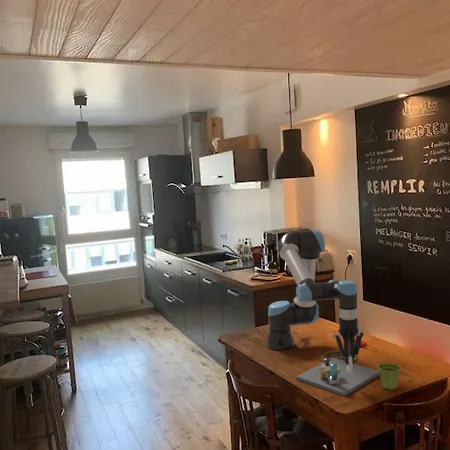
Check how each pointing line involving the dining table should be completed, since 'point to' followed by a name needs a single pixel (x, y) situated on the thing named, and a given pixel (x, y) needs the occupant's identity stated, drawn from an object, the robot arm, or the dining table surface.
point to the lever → (331, 371)
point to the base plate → (340, 378)
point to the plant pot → (389, 375)
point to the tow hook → (361, 340)
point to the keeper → (326, 371)
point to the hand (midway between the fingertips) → (349, 371)
